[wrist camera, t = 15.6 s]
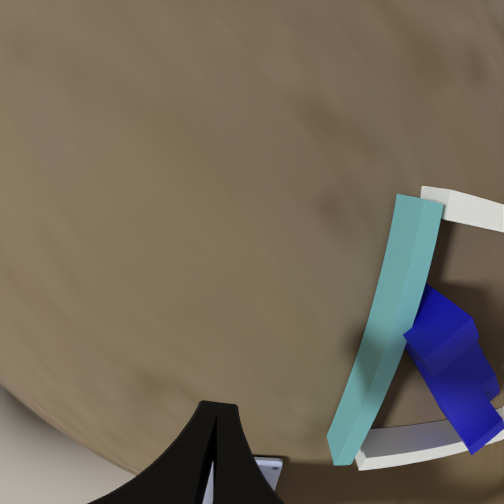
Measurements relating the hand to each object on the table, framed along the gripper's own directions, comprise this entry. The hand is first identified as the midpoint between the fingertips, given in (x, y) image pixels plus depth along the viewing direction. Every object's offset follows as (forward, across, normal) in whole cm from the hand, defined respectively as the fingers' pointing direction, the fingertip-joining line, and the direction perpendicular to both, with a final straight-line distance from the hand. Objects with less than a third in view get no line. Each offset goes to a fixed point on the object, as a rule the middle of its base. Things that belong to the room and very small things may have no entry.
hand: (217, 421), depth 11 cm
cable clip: (+8, -14, 0) cm, 17 cm away
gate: (+7, -8, -1) cm, 11 cm away
